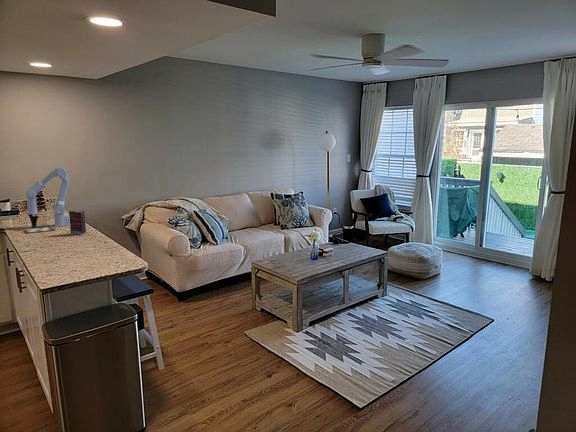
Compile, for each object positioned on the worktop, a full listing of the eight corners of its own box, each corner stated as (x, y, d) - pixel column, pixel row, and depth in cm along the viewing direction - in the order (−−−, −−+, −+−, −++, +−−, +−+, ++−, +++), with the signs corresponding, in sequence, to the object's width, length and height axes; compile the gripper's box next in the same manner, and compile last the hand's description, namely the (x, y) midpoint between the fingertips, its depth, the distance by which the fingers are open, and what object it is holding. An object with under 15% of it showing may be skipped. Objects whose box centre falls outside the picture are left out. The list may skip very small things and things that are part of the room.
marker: (36, 227, 295) (35, 218, 294) (37, 227, 292) (36, 218, 291) (31, 227, 293) (30, 218, 292) (32, 228, 290) (31, 219, 289)
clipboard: (52, 227, 295) (52, 225, 294) (55, 230, 284) (55, 228, 284) (23, 230, 284) (23, 228, 283) (25, 233, 273) (25, 231, 273)
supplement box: (86, 233, 277) (84, 210, 274) (82, 234, 272) (80, 212, 270) (74, 232, 278) (73, 210, 275) (70, 234, 273) (68, 211, 270)
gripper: (24, 205, 293) (26, 223, 295) (26, 207, 282) (28, 226, 284) (35, 204, 297) (37, 222, 300) (38, 207, 286) (40, 225, 288)
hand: (33, 224), depth 292 cm, fingers open, 7 cm apart
